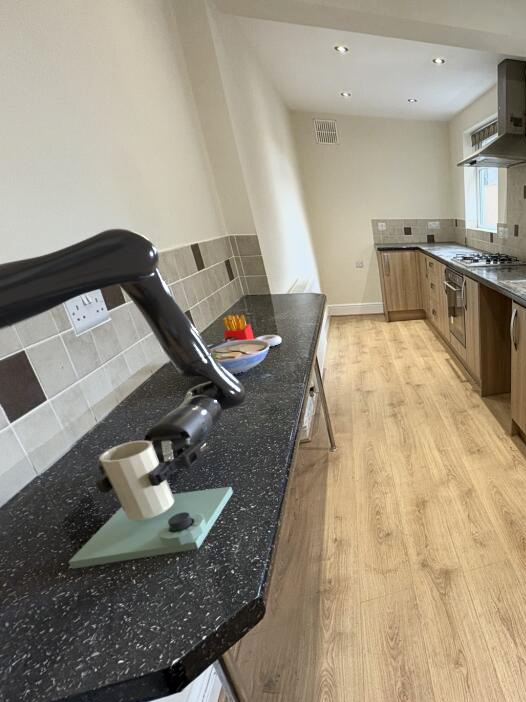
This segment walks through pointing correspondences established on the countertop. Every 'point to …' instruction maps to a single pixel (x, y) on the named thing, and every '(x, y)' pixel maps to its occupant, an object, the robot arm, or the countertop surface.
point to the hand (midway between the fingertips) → (127, 484)
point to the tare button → (180, 522)
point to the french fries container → (237, 328)
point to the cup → (136, 480)
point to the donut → (270, 339)
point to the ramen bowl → (239, 353)
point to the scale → (154, 530)
